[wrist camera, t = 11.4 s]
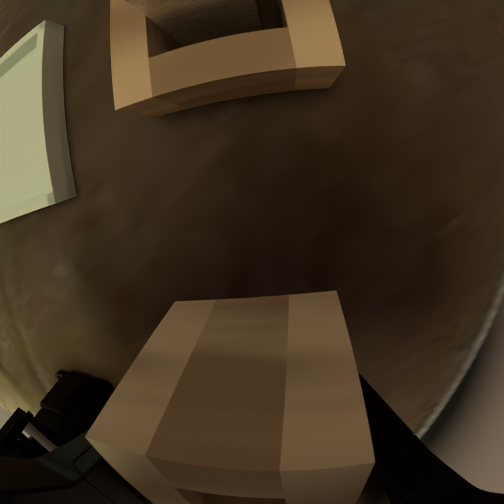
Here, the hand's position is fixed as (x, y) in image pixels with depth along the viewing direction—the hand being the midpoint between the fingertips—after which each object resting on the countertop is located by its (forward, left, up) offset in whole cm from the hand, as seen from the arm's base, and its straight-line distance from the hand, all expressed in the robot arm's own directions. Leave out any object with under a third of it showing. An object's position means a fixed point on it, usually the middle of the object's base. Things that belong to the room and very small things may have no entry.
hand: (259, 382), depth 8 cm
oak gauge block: (+13, 0, -6) cm, 14 cm away
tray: (+12, +15, -6) cm, 20 cm away
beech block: (0, 0, -1) cm, 1 cm away
